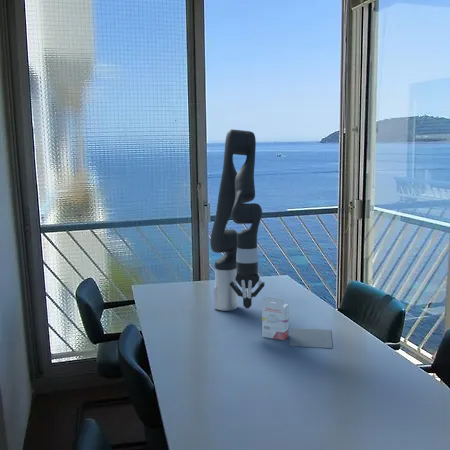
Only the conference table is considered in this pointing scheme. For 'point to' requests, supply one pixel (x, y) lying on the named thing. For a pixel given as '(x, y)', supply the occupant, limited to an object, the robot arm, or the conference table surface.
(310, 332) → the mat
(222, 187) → the robot arm
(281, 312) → the ink cartridge box
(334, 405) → the conference table surface
